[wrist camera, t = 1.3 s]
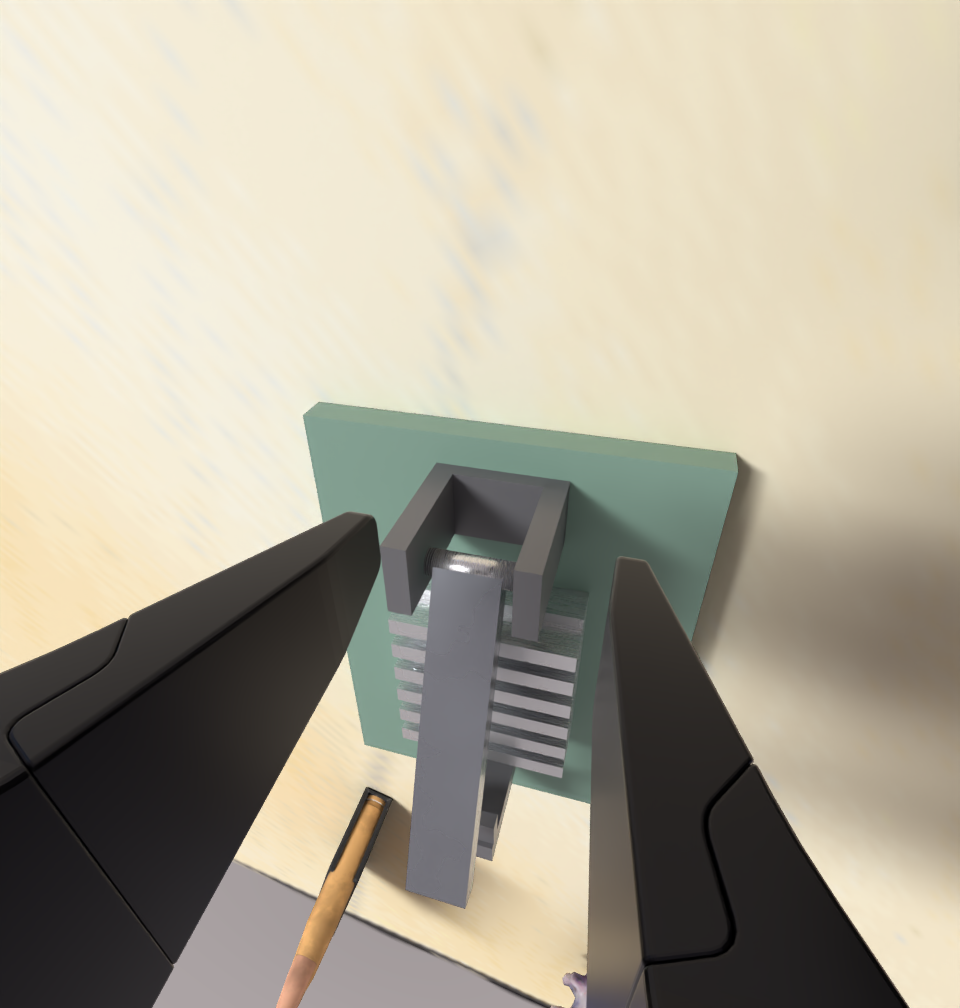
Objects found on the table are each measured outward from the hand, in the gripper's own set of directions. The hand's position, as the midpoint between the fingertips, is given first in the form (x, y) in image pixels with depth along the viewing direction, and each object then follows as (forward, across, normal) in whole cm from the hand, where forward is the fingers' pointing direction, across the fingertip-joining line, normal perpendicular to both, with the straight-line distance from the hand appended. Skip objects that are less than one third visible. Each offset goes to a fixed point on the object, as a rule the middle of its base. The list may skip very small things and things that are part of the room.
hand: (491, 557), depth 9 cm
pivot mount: (+11, +3, +6) cm, 13 cm away
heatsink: (+11, +3, +14) cm, 18 cm away
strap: (+5, +3, +12) cm, 13 cm away
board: (+12, +2, +14) cm, 19 cm away
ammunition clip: (+12, +12, +36) cm, 40 cm away
